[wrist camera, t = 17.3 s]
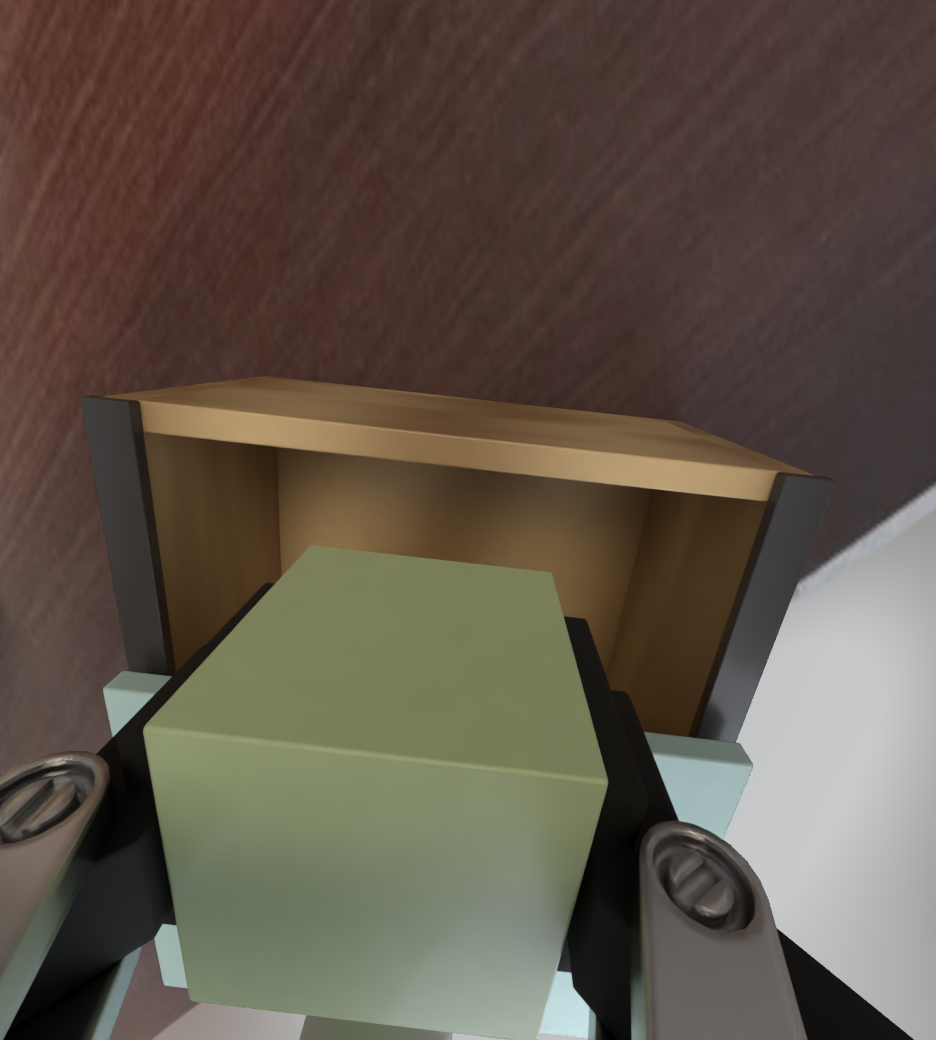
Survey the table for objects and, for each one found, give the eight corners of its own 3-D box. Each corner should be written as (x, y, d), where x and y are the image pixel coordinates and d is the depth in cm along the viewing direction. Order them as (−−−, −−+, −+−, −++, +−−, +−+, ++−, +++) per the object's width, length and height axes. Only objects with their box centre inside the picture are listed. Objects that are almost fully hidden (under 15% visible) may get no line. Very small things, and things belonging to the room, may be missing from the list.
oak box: (686, 422, 20) (838, 480, 11) (617, 686, 24) (685, 873, 16) (258, 375, 20) (78, 396, 11) (272, 646, 25) (153, 808, 16)
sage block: (552, 571, 9) (611, 782, 5) (519, 757, 10) (538, 1045, 6) (310, 543, 9) (138, 726, 5) (312, 733, 10) (187, 1002, 6)
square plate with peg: (740, 741, 13) (1005, 1164, 6) (632, 1016, 18) (718, 1428, 11) (122, 669, 13) (-261, 1002, 7) (176, 959, 18) (-15, 1330, 11)
